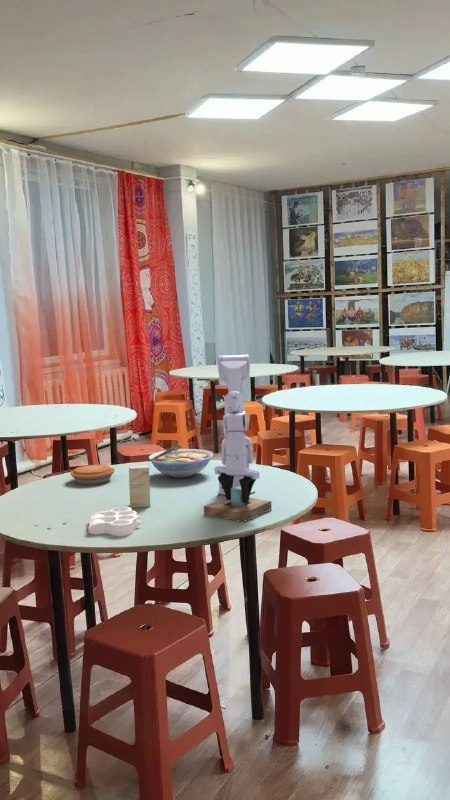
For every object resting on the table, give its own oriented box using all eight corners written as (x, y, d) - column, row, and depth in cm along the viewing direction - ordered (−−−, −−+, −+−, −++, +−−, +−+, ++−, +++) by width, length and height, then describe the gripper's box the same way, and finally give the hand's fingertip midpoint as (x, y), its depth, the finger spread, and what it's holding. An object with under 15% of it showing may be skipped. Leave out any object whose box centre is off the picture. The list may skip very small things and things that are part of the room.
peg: (228, 512, 208) (227, 488, 207) (237, 509, 211) (236, 485, 210) (239, 514, 205) (238, 490, 204) (247, 511, 208) (247, 487, 207)
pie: (117, 484, 247) (116, 470, 246) (71, 488, 243) (70, 474, 243) (113, 474, 262) (112, 461, 261) (70, 478, 258) (69, 464, 257)
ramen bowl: (197, 486, 240) (196, 462, 239) (136, 482, 248) (135, 459, 247) (224, 469, 263) (223, 447, 262) (167, 466, 271) (166, 445, 270)
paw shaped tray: (90, 520, 206) (141, 516, 208) (88, 540, 189) (144, 535, 191) (89, 509, 206) (141, 505, 208) (87, 527, 188) (143, 523, 190)
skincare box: (130, 508, 216) (127, 468, 214) (130, 504, 220) (128, 465, 219) (151, 506, 217) (149, 467, 215) (151, 502, 221) (149, 464, 219)
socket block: (204, 514, 206) (203, 506, 206) (232, 502, 217) (232, 494, 217) (243, 521, 198) (243, 513, 198) (271, 509, 209) (271, 501, 209)
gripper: (207, 454, 207) (209, 500, 208) (248, 459, 198) (250, 507, 200) (222, 450, 212) (223, 494, 214) (263, 454, 204) (264, 501, 205)
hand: (237, 500), depth 207 cm, fingers open, 5 cm apart
